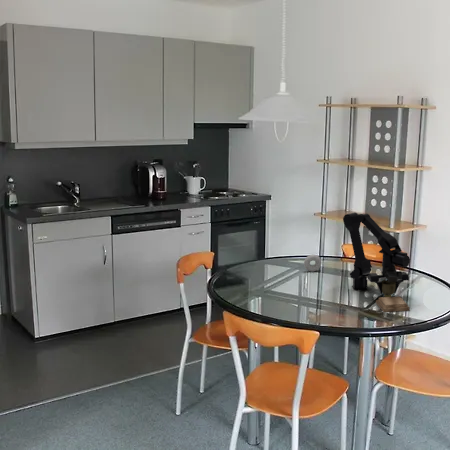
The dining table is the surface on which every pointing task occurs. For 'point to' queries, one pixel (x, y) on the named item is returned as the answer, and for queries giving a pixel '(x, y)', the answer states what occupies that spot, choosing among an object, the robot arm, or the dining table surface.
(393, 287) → the cup
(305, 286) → the dining table surface
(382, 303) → the plinth
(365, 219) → the robot arm
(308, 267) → the donut
